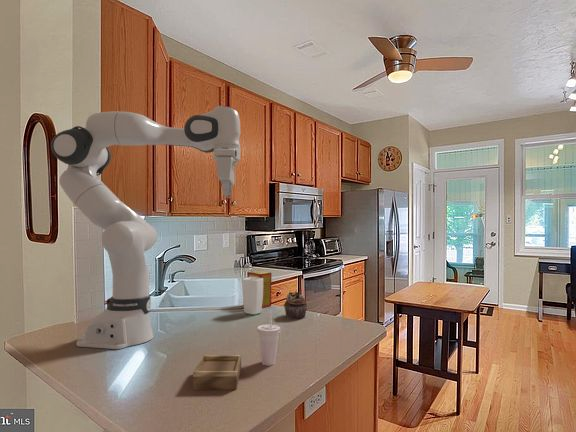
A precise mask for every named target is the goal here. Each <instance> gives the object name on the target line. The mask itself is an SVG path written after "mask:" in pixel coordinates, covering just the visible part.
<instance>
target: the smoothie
mask: <svg viewBox="0 0 576 432" xmlns="http://www.w3.org/2000/svg"><path fill="white" fill-rule="evenodd" d="M272 319H273V313H272V311H269V324H268V323H267V324H261V325H259V326H257V331H256V332H257V333H258V340H259V350H260V358H261V364H262V365H263V366H267V367H269V366H274V365H275V364H276V359H277V353H278V352H277V351H278V346H279V345H278V344H279V334H280V332H281V326H279V325H277V324H272V323H273V320H272Z"/></svg>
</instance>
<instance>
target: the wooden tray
mask: <svg viewBox="0 0 576 432" xmlns="http://www.w3.org/2000/svg"><path fill="white" fill-rule="evenodd" d="M241 373H242V355H241V354H240V355H239V354H238V355H236V354H235V355H233V354H231V355H230V354H228V355H221V354H220V355H202V356H201V357H200V360H199V361H198V363H197V365H196V366H195V368H194V370H193V372H192V390H193V391H195V390H196V391H200V390H201V391H208V390H210V391H211V390H213V391H214V390H220V391H221V390H224V391H225V390H237V388H238V385H239V381H240V376H241Z"/></svg>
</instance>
